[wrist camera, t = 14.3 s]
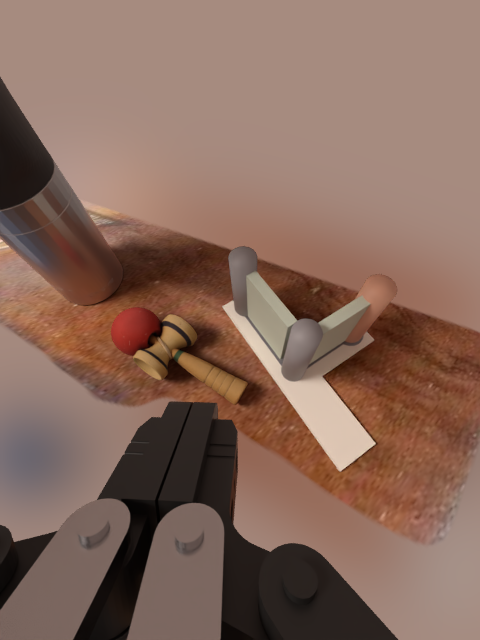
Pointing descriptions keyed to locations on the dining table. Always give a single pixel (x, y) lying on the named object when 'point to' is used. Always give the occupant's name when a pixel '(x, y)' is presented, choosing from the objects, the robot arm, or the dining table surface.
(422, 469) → the dining table surface
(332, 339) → the gate
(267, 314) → the fence fixed
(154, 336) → the kendama
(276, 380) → the board
